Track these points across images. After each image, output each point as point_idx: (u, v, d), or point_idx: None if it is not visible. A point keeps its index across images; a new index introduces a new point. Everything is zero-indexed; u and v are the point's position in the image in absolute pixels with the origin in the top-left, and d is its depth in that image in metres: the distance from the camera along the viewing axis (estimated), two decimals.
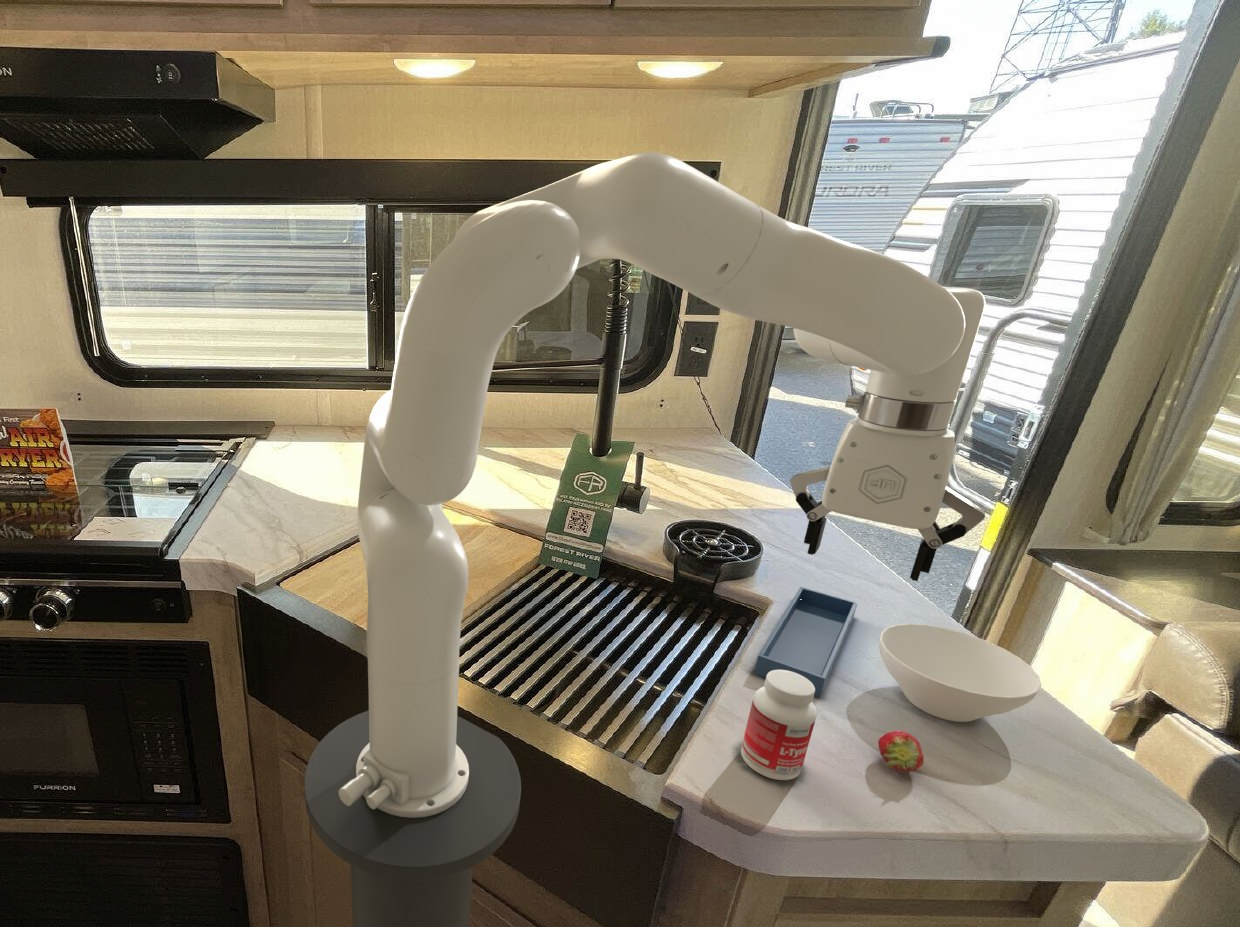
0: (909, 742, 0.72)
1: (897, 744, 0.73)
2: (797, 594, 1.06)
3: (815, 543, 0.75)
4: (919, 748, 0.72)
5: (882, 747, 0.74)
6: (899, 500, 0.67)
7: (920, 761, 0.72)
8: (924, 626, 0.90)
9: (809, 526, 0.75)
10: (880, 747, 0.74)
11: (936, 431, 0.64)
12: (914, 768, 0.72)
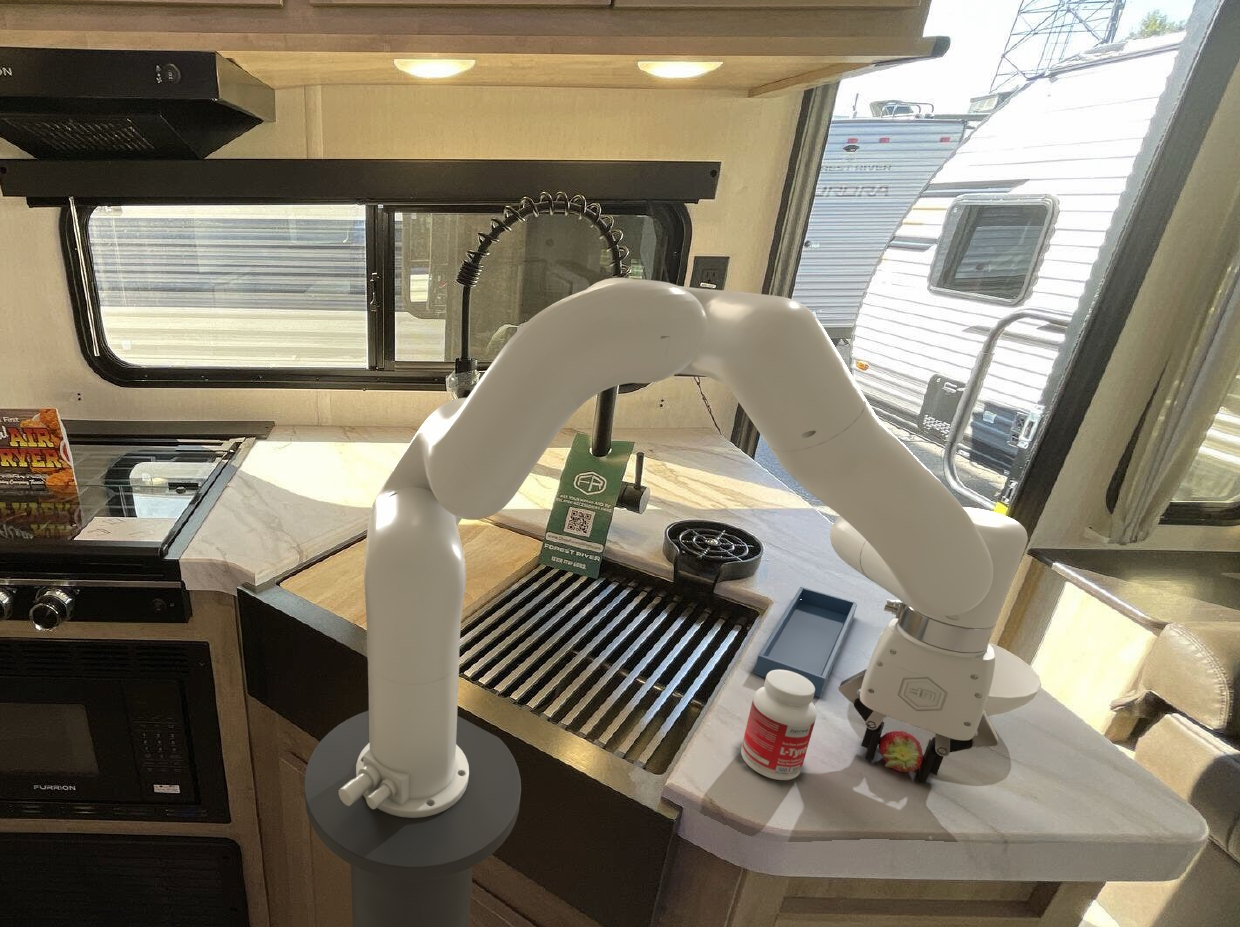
0: (909, 742, 0.72)
1: (897, 744, 0.73)
2: (797, 594, 1.06)
3: (873, 751, 0.75)
4: (919, 748, 0.72)
5: (882, 747, 0.74)
6: (939, 711, 0.68)
7: (920, 761, 0.72)
8: None
9: (867, 732, 0.75)
10: (880, 747, 0.74)
11: (977, 653, 0.65)
12: (914, 768, 0.72)
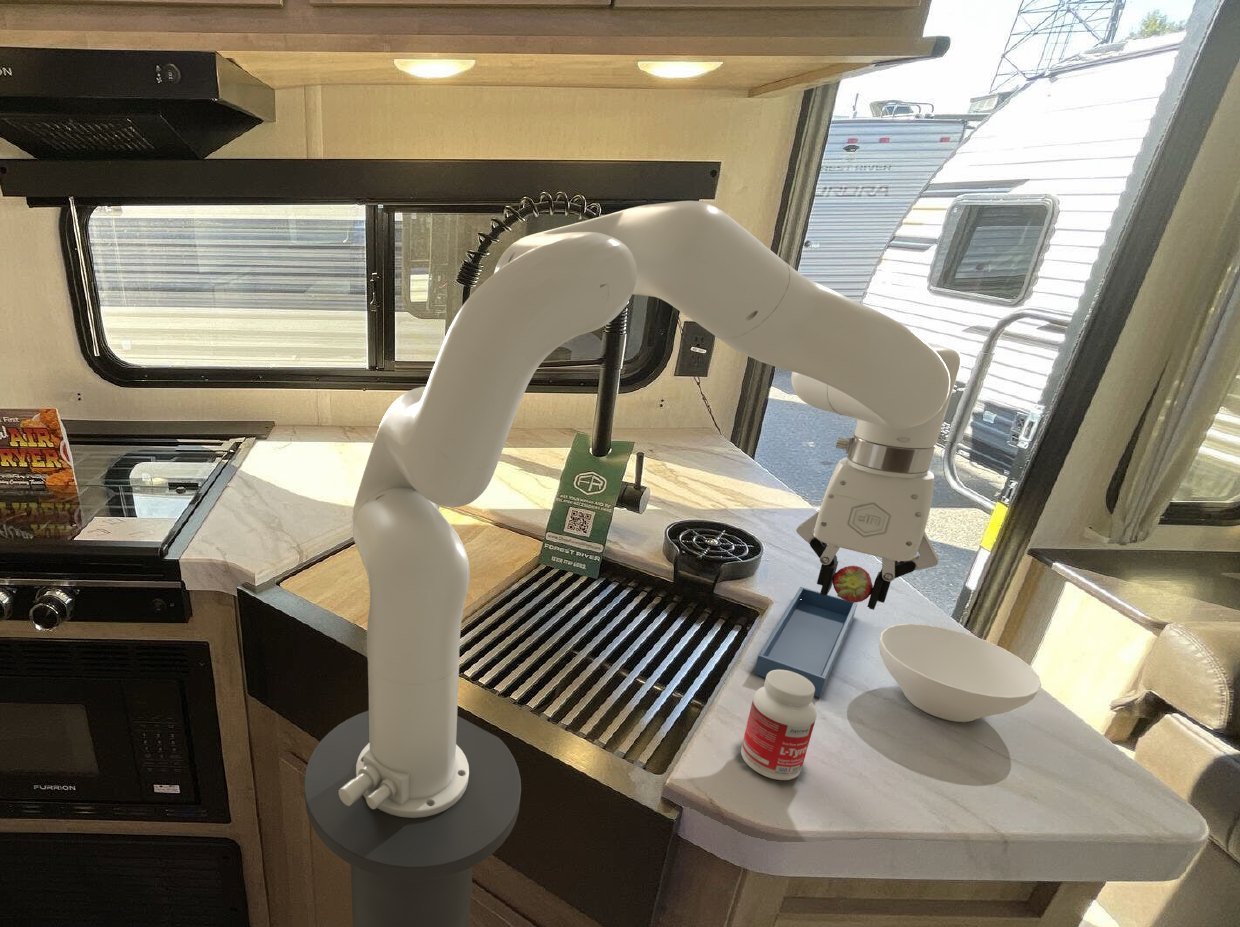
0: (859, 571, 0.78)
1: (848, 575, 0.78)
2: (797, 594, 1.06)
3: (827, 585, 0.81)
4: (868, 578, 0.78)
5: (835, 580, 0.80)
6: (884, 534, 0.74)
7: (868, 589, 0.78)
8: (924, 626, 0.90)
9: (822, 569, 0.81)
10: (833, 581, 0.80)
11: (917, 473, 0.71)
12: (863, 596, 0.78)
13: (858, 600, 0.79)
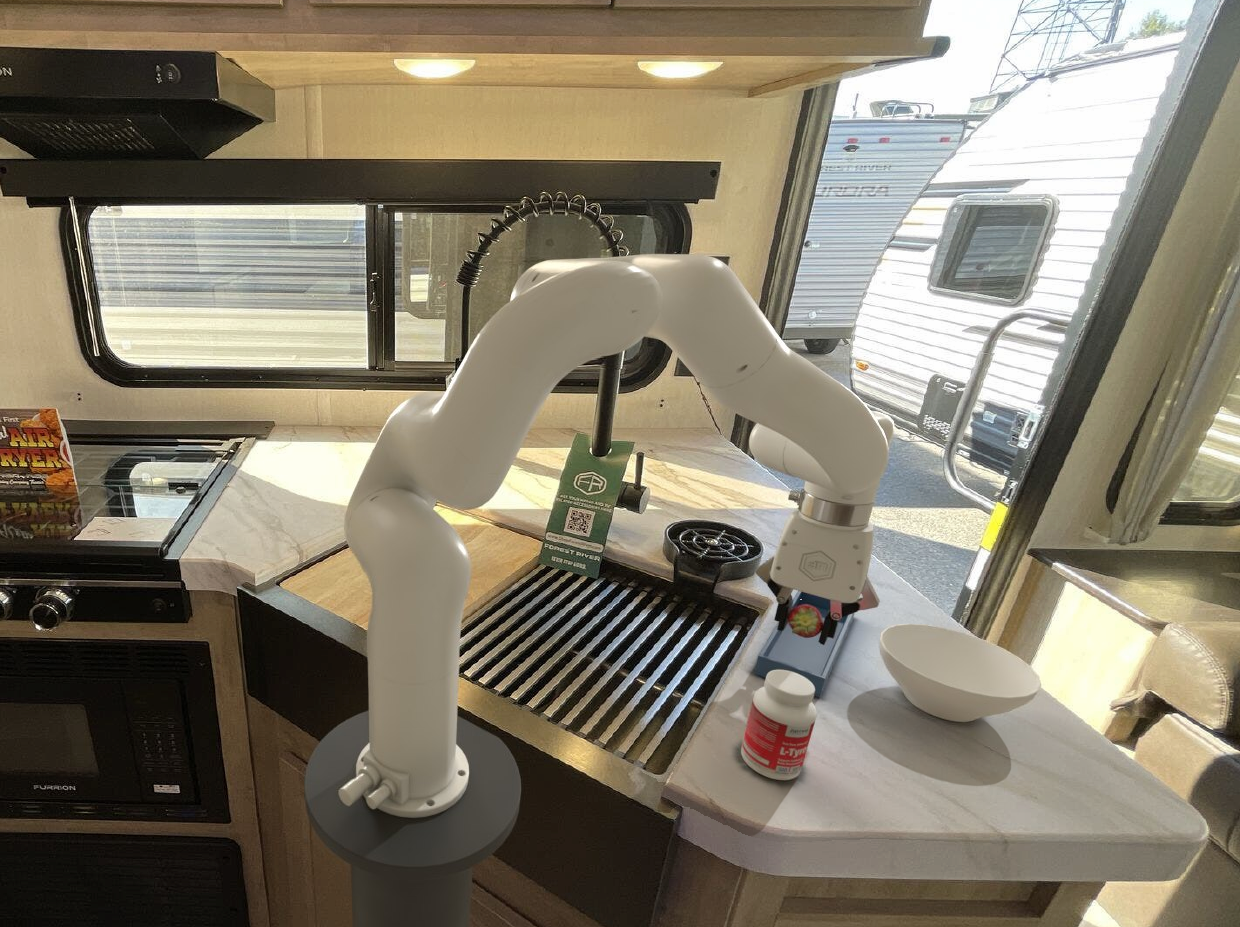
0: (810, 610, 0.86)
1: (801, 613, 0.87)
2: (797, 594, 1.06)
3: (783, 622, 0.89)
4: (819, 616, 0.86)
5: (790, 618, 0.88)
6: (830, 579, 0.83)
7: (819, 626, 0.86)
8: (924, 626, 0.90)
9: (778, 607, 0.89)
10: (788, 618, 0.89)
11: (858, 526, 0.80)
12: (814, 632, 0.86)
13: (810, 636, 0.87)
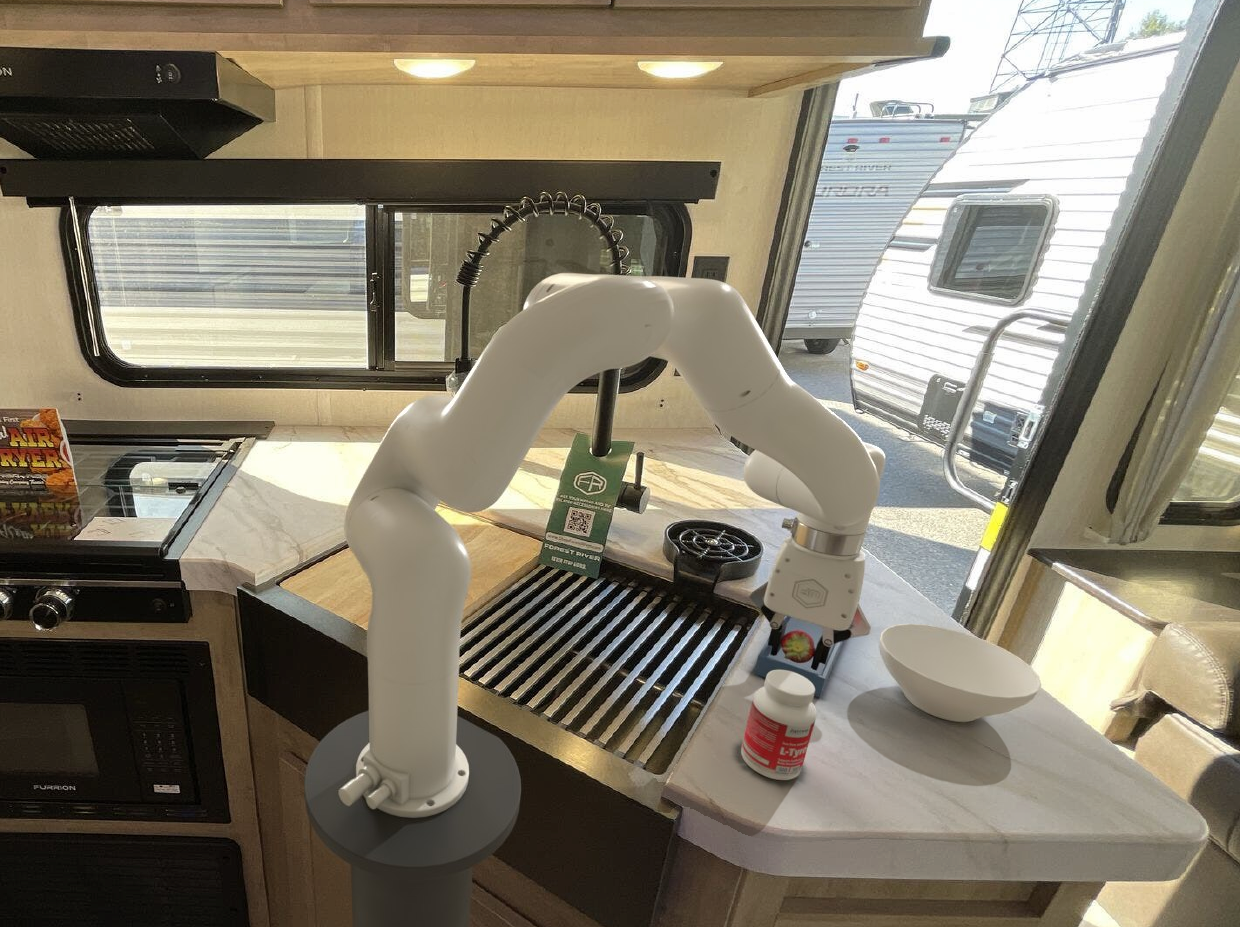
0: (802, 636, 0.87)
1: (794, 639, 0.88)
2: None
3: (776, 647, 0.90)
4: (811, 642, 0.88)
5: (783, 643, 0.90)
6: (822, 607, 0.84)
7: (811, 652, 0.87)
8: (924, 626, 0.90)
9: (772, 632, 0.91)
10: (781, 643, 0.90)
11: (849, 556, 0.81)
12: (807, 658, 0.88)
13: (802, 661, 0.88)
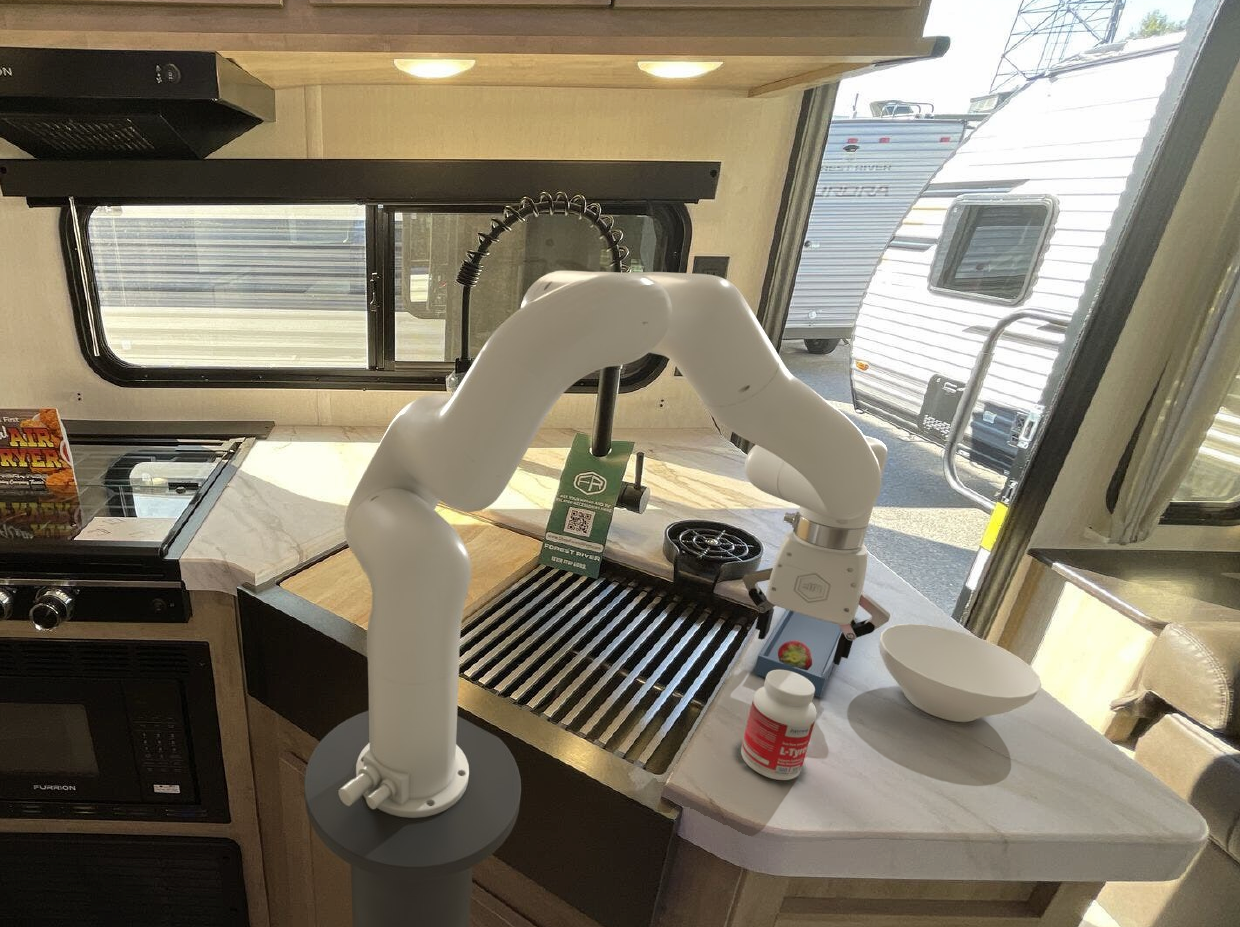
0: (799, 647, 0.88)
1: (790, 650, 0.89)
2: None
3: (764, 630, 0.91)
4: (808, 653, 0.88)
5: (780, 654, 0.90)
6: (825, 601, 0.84)
7: (808, 663, 0.88)
8: (924, 626, 0.90)
9: (759, 616, 0.92)
10: (778, 654, 0.90)
11: (852, 550, 0.81)
12: None
13: None
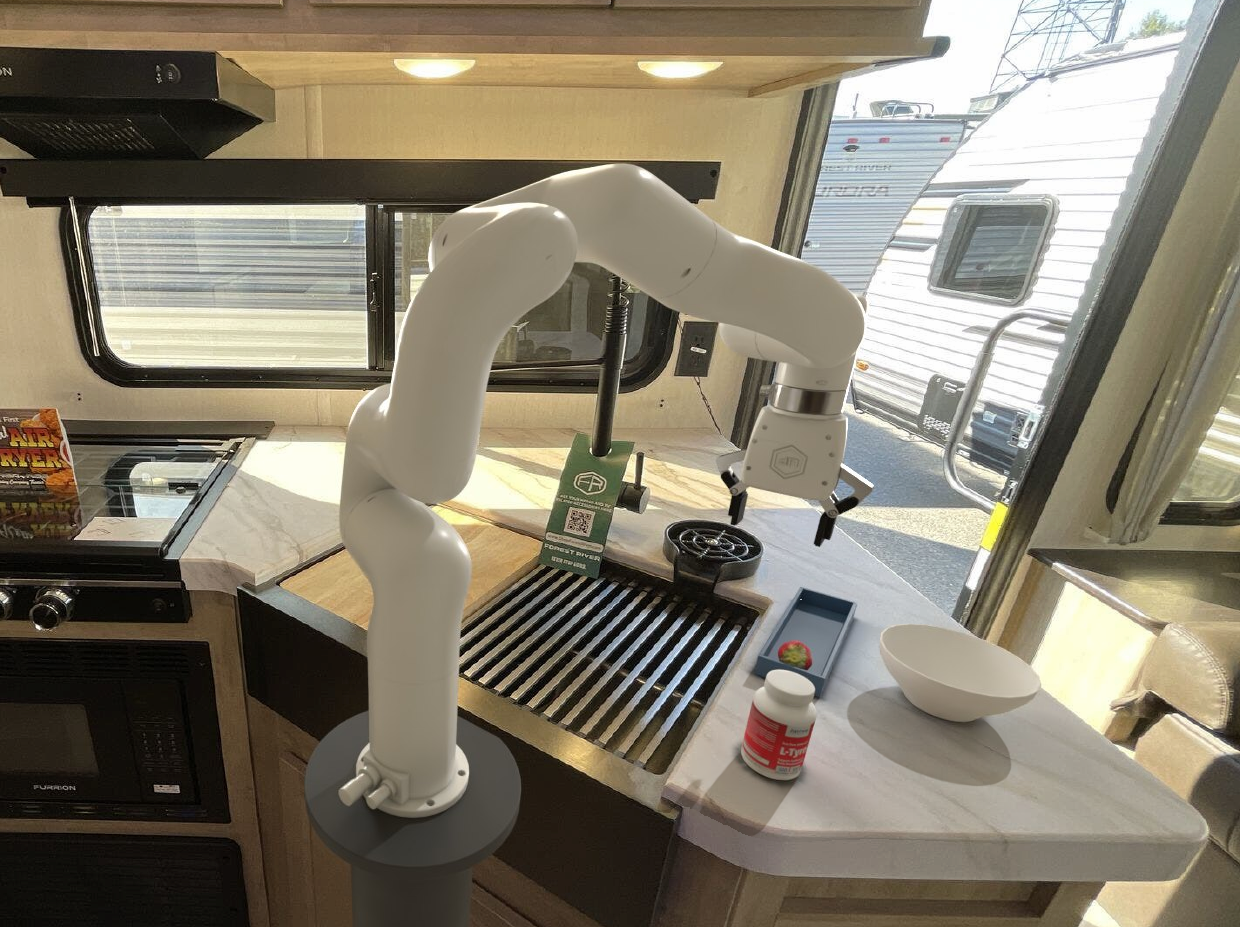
0: (799, 647, 0.88)
1: (790, 650, 0.89)
2: (797, 594, 1.06)
3: (736, 515, 0.86)
4: (808, 653, 0.88)
5: (780, 654, 0.90)
6: (802, 475, 0.78)
7: (808, 663, 0.88)
8: (924, 626, 0.90)
9: (732, 500, 0.86)
10: (778, 654, 0.90)
11: (830, 415, 0.75)
12: None
13: None
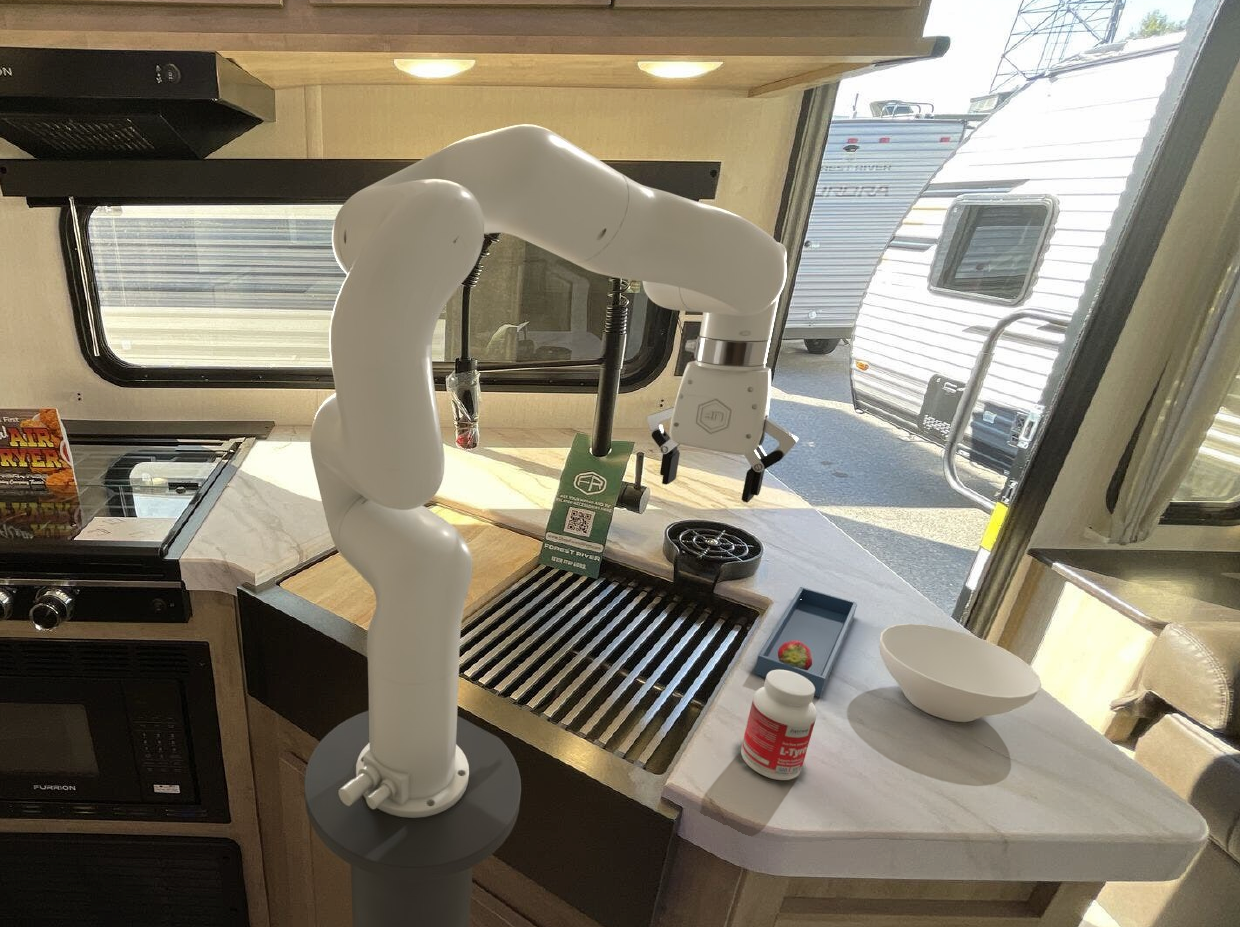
0: (799, 647, 0.88)
1: (790, 650, 0.89)
2: (797, 594, 1.06)
3: (667, 474, 0.85)
4: (808, 653, 0.88)
5: (780, 654, 0.90)
6: (727, 429, 0.77)
7: (808, 663, 0.88)
8: (924, 626, 0.90)
9: (663, 459, 0.85)
10: (778, 654, 0.90)
11: (752, 367, 0.74)
12: None
13: None
